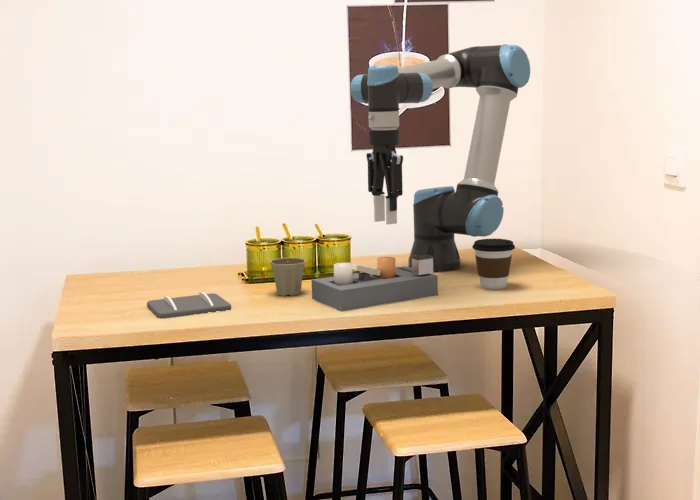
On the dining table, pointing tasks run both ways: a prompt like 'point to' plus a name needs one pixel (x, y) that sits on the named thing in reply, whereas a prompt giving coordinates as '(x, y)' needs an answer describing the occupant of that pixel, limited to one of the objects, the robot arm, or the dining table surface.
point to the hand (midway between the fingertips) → (385, 222)
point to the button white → (343, 274)
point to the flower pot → (288, 275)
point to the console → (374, 289)
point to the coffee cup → (493, 262)
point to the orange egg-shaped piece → (386, 267)
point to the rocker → (365, 269)
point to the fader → (422, 264)
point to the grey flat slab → (188, 305)
